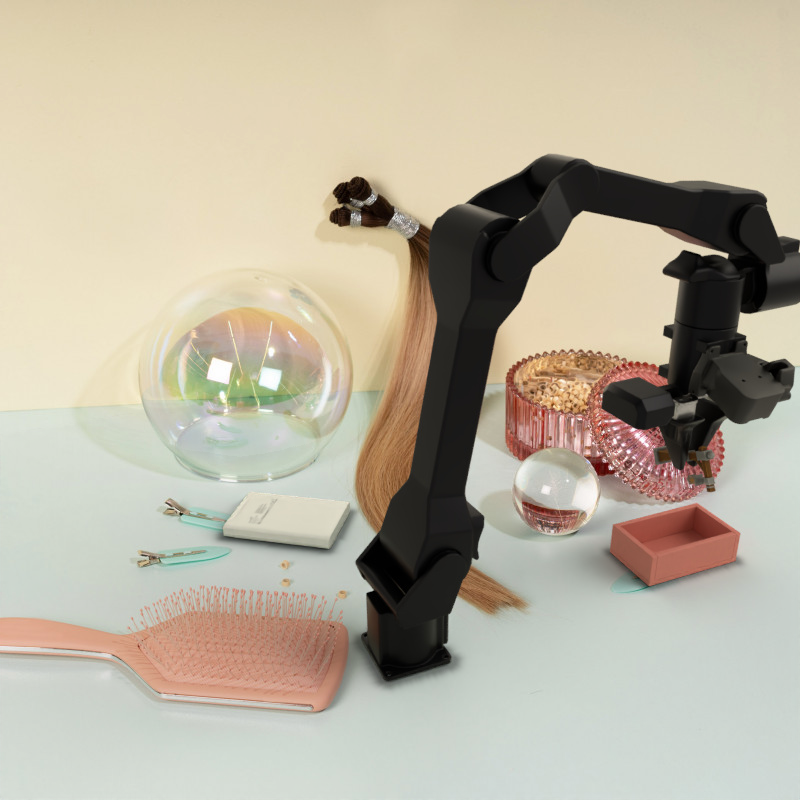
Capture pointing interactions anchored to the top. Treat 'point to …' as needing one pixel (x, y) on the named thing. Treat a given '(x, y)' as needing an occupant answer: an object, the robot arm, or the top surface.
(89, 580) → the top surface
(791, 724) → the top surface
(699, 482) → the wooden post with brackets
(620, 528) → the tray
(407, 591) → the robot arm
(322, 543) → the hard drive
